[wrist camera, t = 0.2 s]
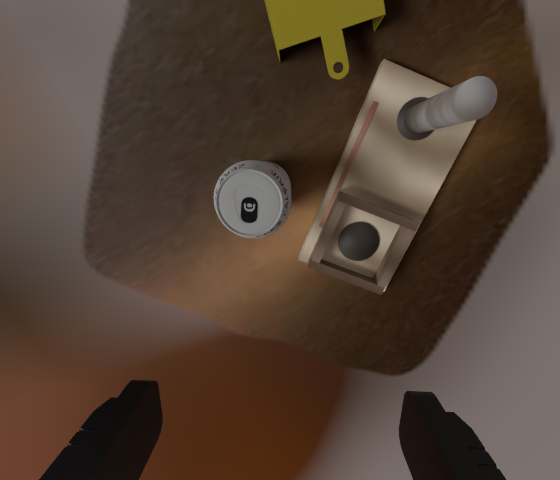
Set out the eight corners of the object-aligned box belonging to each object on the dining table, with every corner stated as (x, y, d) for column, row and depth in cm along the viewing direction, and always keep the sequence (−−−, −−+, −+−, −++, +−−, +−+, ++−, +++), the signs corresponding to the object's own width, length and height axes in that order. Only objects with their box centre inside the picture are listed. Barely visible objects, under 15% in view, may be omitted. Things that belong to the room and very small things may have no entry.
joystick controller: (380, 62, 30) (431, 6, 19) (478, 105, 31) (579, 73, 20) (298, 256, 36) (301, 296, 26) (380, 288, 37) (418, 339, 26)
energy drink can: (293, 163, 33) (295, 163, 19) (288, 212, 35) (288, 247, 20) (243, 159, 33) (207, 156, 19) (241, 209, 35) (207, 241, 20)
